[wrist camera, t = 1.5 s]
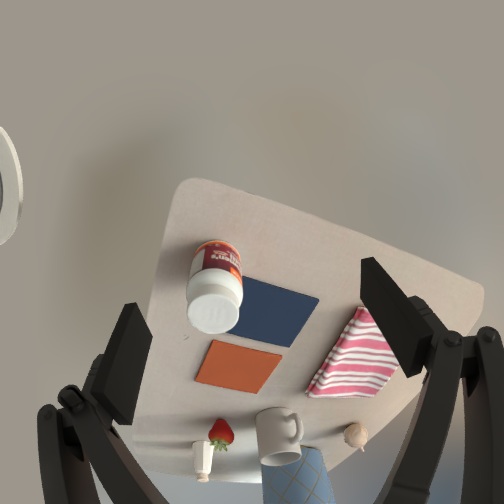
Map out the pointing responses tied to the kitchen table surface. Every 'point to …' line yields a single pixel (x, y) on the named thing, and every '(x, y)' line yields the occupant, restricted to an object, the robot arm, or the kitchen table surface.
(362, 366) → the dish towel
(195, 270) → the pill bottle
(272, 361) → the terracotta mat
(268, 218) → the kitchen table surface
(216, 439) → the fruit
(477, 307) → the kitchen table surface
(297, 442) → the mug
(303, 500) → the planter
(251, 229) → the kitchen table surface
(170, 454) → the kitchen table surface
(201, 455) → the pepper shaker
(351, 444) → the garlic bulb
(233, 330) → the slate blue mat
